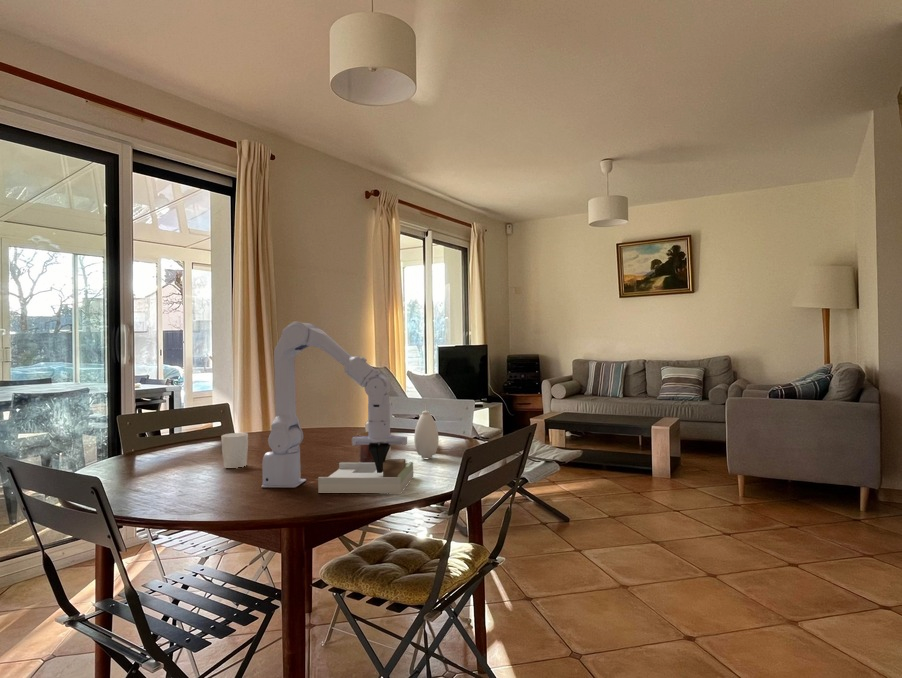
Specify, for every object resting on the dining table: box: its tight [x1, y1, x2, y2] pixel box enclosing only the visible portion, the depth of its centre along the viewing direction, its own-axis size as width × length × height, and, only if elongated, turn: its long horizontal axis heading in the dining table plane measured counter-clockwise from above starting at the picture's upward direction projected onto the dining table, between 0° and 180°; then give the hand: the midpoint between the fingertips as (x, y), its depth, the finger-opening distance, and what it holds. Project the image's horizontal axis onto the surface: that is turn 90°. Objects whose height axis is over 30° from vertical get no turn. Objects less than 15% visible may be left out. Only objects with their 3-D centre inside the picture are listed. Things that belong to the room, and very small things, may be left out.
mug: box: [356, 431, 375, 463], centre depth 170 cm, size 12×9×10 cm
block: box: [383, 458, 407, 477], centre depth 149 cm, size 5×5×4 cm
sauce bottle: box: [413, 403, 440, 459], centre depth 182 cm, size 8×8×18 cm
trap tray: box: [317, 461, 414, 495], centre depth 149 cm, size 21×18×4 cm
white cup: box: [220, 432, 249, 469], centre depth 177 cm, size 8×8×10 cm
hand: (380, 472), depth 149 cm, fingers closed
